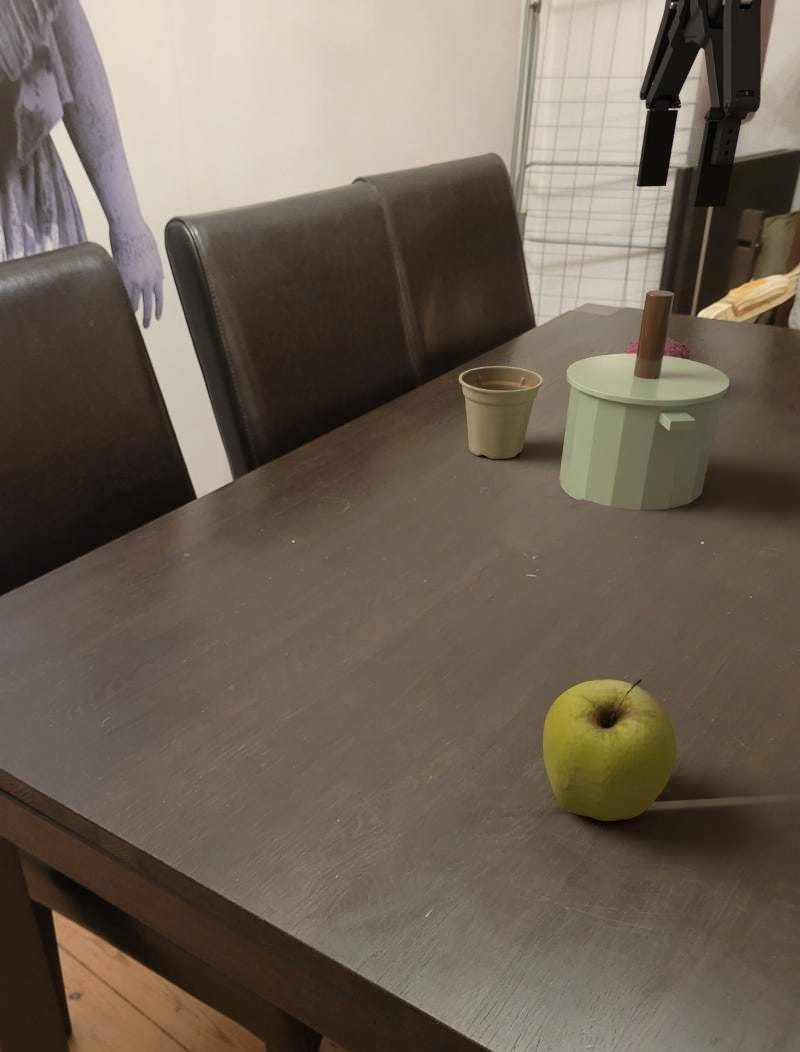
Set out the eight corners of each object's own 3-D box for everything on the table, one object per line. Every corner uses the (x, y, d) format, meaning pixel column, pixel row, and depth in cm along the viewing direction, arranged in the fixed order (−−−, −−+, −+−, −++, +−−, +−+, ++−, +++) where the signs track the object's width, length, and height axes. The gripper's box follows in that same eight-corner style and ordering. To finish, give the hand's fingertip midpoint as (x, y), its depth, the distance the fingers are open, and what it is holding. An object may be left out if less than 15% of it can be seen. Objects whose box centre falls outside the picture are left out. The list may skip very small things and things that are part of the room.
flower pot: (491, 471, 107) (498, 396, 103) (438, 447, 114) (442, 375, 109) (552, 453, 112) (561, 380, 107) (497, 431, 118) (503, 361, 114)
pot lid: (690, 362, 105) (706, 273, 100) (755, 409, 91) (778, 309, 86) (547, 367, 104) (557, 278, 99) (592, 415, 90) (606, 315, 86)
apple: (590, 725, 66) (644, 627, 59) (666, 817, 61) (735, 724, 54) (497, 761, 63) (541, 663, 55) (570, 861, 58) (629, 769, 51)
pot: (661, 450, 112) (679, 351, 106) (735, 522, 95) (761, 410, 89) (538, 455, 111) (549, 356, 105) (590, 529, 94) (607, 416, 88)
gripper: (627, -77, 87) (595, 179, 98) (749, -115, 66) (691, 217, 77) (708, -79, 87) (667, 177, 99) (855, -116, 66) (781, 215, 78)
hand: (677, 196), depth 88 cm, fingers open, 13 cm apart
